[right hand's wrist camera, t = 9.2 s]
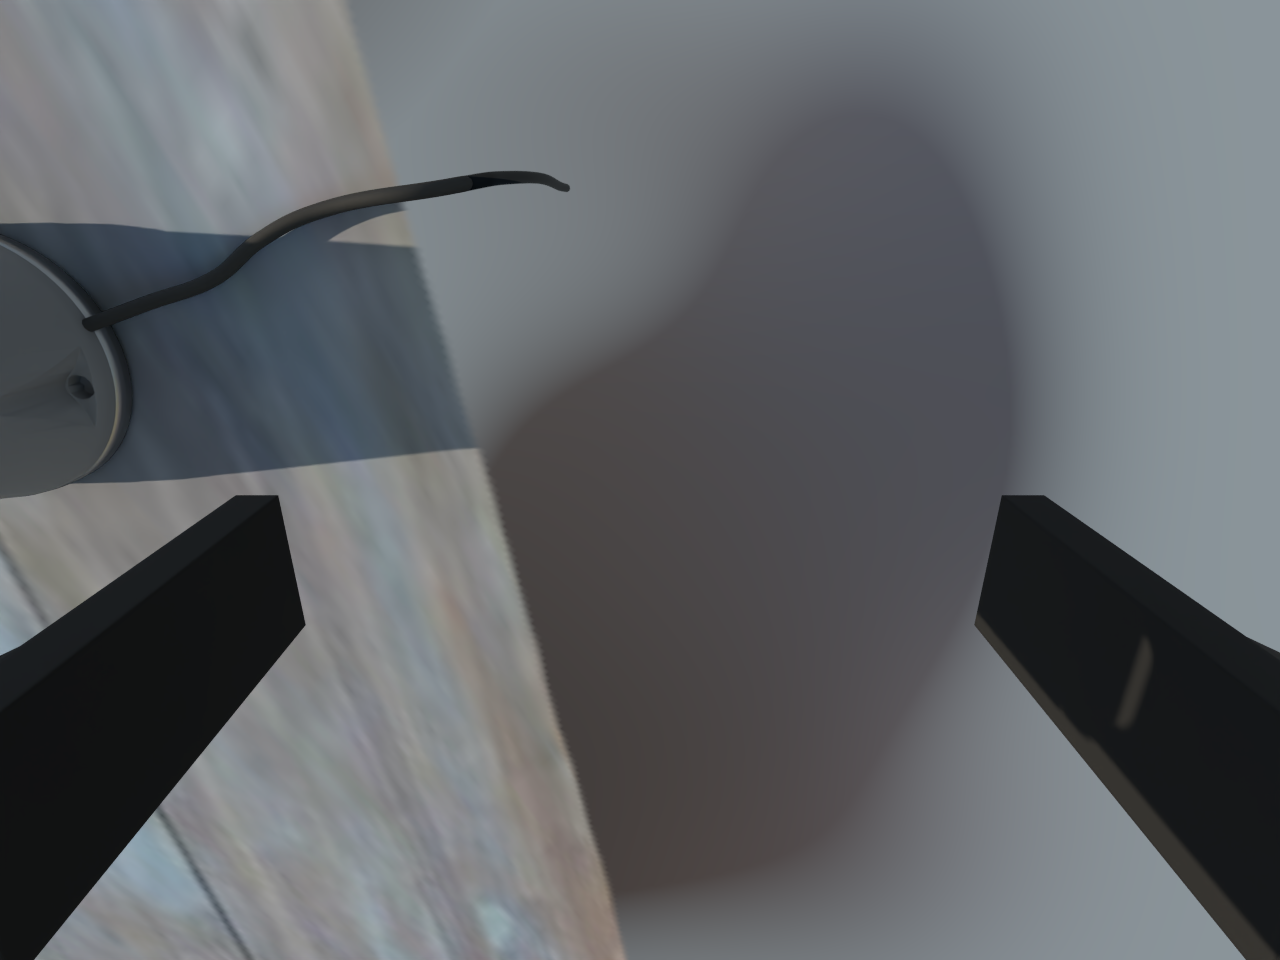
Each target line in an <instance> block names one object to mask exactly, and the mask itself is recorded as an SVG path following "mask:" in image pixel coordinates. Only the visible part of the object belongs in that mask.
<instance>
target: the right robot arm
mask: <svg viewBox="0 0 1280 960" xmlns="http://www.w3.org/2000/svg"><path fill="white" fill-rule="evenodd" d="M525 183H533V184H543V185H547V186H549V187H552V188H554V189H556V190H558V191H563V192H568V191H569V190H570V186H569V185H568V184H565V183H562V182H560V181H558V180H557V179H555V178H554V177H552V176H550V175H547V174H544V173H539V172H531V171H492V172H484V173H477V174H472V175H466V176H460V177H454V178H448V179H443V180H436V181H431V182H424V183H417V184H410V185H402V186H395V187H388V188H381V189H375V190H369V191H363V192H358V193H353V194H349V195H344V196H340V197H336V198H333V199H329V200H326V201H322V202H319V203H316V204H313V205H310V206H307V207H304V208H302V209H299V210H297V211H294V212H292V213H290V214H288V215H286V216H284V217H282V218H280V219H278V220H276V221H274V222H273V223H271V224H269V225H268V226H266V227H265V228H263V229H261V230H260V231H258V232H257V233H255V234H254V235H253V236H251V237H250V238H249V239H247V240H246V241H245V242H244V243H243V244H241V245H240V246H239V247H238V248H237V249H236V250H235V251H234V252H233V253H232V254H231V255H230V256H229V257H228V258H227V259H226V260H225V261H224V262H223V263H222V264H221V265H220V266H218V267H217V268H215V269H214V270H212V271H211V272H209V273H207V274H205V275H203V276H201V277H199V278H197V279H195V280H192V281H189V282H187V283H184V284H181V285H178V286H174V287H171V288H168V289H165V290H161V291H158V292H155V293H152V294H149V295H146V296H143V297H141V298H138V299H135V300H133V301H130V302H127V303H125V304H122V305H119V306H117V307H114V308H111V309H109V310H106V311H103V312H101V310H100V309H99V308H98V306H97V305H96V304H95V302H94V301H93V300H92V299H91V298H90V296H89V295H88V294H87V293H86V292H85V291H84V290H83V289H82V288H81V287H80V286H79V285H78V284H77V283H76V282H75V281H74V280H73V279H72V278H71V277H70V276H69V275H68V274H67V273H65V272H64V271H63V270H62V269H61V268H59V267H58V266H57V265H55V264H54V263H53V262H51V261H50V260H49V259H47V258H46V257H44V256H42V255H41V254H39V253H38V252H36V251H35V250H33V249H31V248H29V247H27V246H25V245H24V244H22V243H19V242H17V241H15V240H13V239H11V238H8V237H6V236H3V235H0V499H3V498H12V497H22V496H30V495H35V494H39V493H43V492H46V491H50V490H54V489H57V488H60V487H63V486H65V485H68V484H70V483H72V482H74V481H76V480H78V479H80V478H82V477H84V476H86V475H88V474H90V473H92V472H94V471H95V470H97V469H98V468H100V467H101V466H102V465H103V464H104V463H106V462H107V461H108V460H109V459H110V458H111V456H112V455H113V454H114V453H115V452H116V450H117V449H118V447H119V446H120V444H121V442H122V440H123V438H124V436H125V434H126V431H127V428H128V425H129V421H130V416H131V409H132V387H131V379H130V374H129V370H128V365H127V362H126V359H125V356H124V353H123V350H122V348H121V346H120V343H119V341H118V339H117V337H116V335H115V333H114V331H113V329H112V327H111V326H110V325H112V324H115V323H117V322H120V321H123V320H126V319H128V318H131V317H134V316H136V315H139V314H142V313H144V312H147V311H150V310H152V309H155V308H158V307H161V306H164V305H167V304H170V303H174V302H177V301H180V300H184V299H187V298H190V297H193V296H196V295H198V294H201V293H203V292H205V291H208V290H210V289H212V288H214V287H216V286H217V285H219V284H221V283H222V282H224V281H226V280H227V279H228V278H230V277H231V276H232V275H233V274H234V273H236V272H237V271H238V270H239V269H240V268H241V267H242V266H243V265H244V264H245V263H246V262H247V261H248V260H249V259H250V258H251V257H252V256H253V255H254V254H255V253H256V252H258V251H259V250H260V249H262V248H263V247H265V246H266V245H268V244H269V243H271V242H272V241H274V240H276V239H277V238H279V237H280V236H282V235H284V234H286V233H288V232H289V231H291V230H293V229H295V228H298V227H300V226H302V225H305V224H307V223H310V222H313V221H316V220H319V219H322V218H325V217H328V216H331V215H335V214H338V213H342V212H346V211H351V210H355V209H360V208H365V207H371V206H377V205H384V204H391V203H398V202H405V201H412V200H419V199H426V198H432V197H439V196H444V195H450V194H455V193H461V192H466V191H471V190H476V189H481V188H485V187H491V186H497V185H507V184H525ZM304 626H305V620H304V615H303V611H302V606H301V601H300V596H299V592H298V587H297V582H296V578H295V573H294V568H293V563H292V559H291V554H290V549H289V545H288V540H287V535H286V530H285V526H284V521H283V516H282V512H281V507H280V502H279V497H278V495H236V496H234V497H233V498H231V499H230V500H229V501H227V502H226V503H224V504H223V505H221V506H220V507H219V508H217V509H216V510H214V511H213V512H211V513H210V514H209V515H207V516H206V517H204V518H203V519H201V520H200V521H199V522H197V523H196V524H194V525H193V526H191V527H190V528H189V529H187V530H186V531H184V532H183V533H181V534H180V535H179V536H177V537H176V538H174V539H173V540H171V541H170V542H169V543H167V544H166V545H164V546H163V547H161V548H160V549H159V550H157V551H156V552H154V553H153V554H151V555H150V556H149V557H147V558H146V559H144V560H143V561H141V562H140V563H139V564H137V565H136V566H134V567H133V568H131V569H130V570H128V571H127V572H126V573H124V574H123V575H121V576H120V577H118V578H117V579H116V580H114V581H113V582H111V583H110V584H108V585H107V586H106V587H104V588H103V589H101V590H100V591H98V592H97V593H96V594H94V595H93V596H91V597H90V598H88V599H87V600H86V601H84V602H83V603H81V604H80V605H78V606H77V607H76V608H74V609H73V610H71V611H70V612H68V613H67V614H66V615H64V616H63V617H61V618H60V619H58V620H57V621H56V622H54V623H53V624H51V625H50V626H48V627H47V628H46V629H44V630H43V631H41V632H40V633H38V634H37V635H36V636H34V637H33V638H31V639H30V640H28V641H27V642H26V643H24V644H23V645H21V646H20V647H18V648H15V649H13V650H11V651H9V652H7V653H5V654H3V655H1V656H0V960H34V959H35V958H36V957H37V955H38V954H39V953H40V952H41V950H42V949H43V948H44V947H45V946H46V944H47V943H48V942H49V941H50V939H51V938H52V937H53V936H54V934H55V933H56V932H57V931H58V929H59V928H60V927H61V926H62V925H63V923H64V922H65V921H66V920H67V918H68V917H69V916H70V915H71V913H72V912H73V911H74V910H75V909H76V907H77V906H78V905H79V904H80V902H81V901H82V900H83V899H84V897H85V896H86V895H87V894H88V893H89V891H90V890H91V889H92V888H93V886H94V885H95V884H96V883H97V881H98V880H99V879H100V878H101V876H102V875H103V874H104V873H105V872H106V870H107V869H108V868H109V867H110V865H111V864H112V863H113V862H114V860H115V859H116V858H117V857H118V856H119V854H120V853H121V852H122V851H123V849H124V848H125V847H126V846H127V844H128V843H129V842H130V841H131V840H132V838H133V837H134V836H135V835H136V833H137V832H138V831H139V830H140V828H141V827H142V826H143V825H144V823H145V822H146V821H147V820H148V819H149V817H150V816H151V815H152V814H153V812H154V811H155V810H156V809H157V807H158V806H159V805H160V804H161V803H162V801H163V800H164V799H165V798H166V796H167V795H168V794H169V793H170V791H171V790H172V789H173V788H174V787H175V785H176V784H177V783H178V782H179V780H180V779H181V778H182V777H183V775H184V774H185V773H186V772H187V770H188V769H189V768H190V767H191V766H192V764H193V763H194V762H195V761H196V759H197V758H198V757H199V756H200V754H201V753H202V752H203V751H204V750H205V748H206V747H207V746H208V745H209V743H210V742H211V741H212V740H213V738H214V737H215V736H216V735H217V734H218V732H219V731H220V730H221V729H222V727H223V726H224V725H225V724H226V722H227V721H228V720H229V719H230V717H231V716H232V715H233V714H234V713H235V711H236V710H237V709H238V708H239V706H240V705H241V704H242V703H243V701H244V700H245V699H246V698H247V697H248V695H249V694H250V693H251V692H252V690H253V689H254V688H255V687H256V685H257V684H258V683H259V682H260V681H261V679H262V678H263V677H264V676H265V674H266V673H267V672H268V671H269V669H270V668H271V667H272V666H273V664H274V663H275V662H276V661H277V660H278V658H279V657H280V656H281V655H282V653H283V652H284V651H285V650H286V648H287V647H288V646H289V645H290V644H291V642H292V641H293V640H294V639H295V637H296V636H297V635H298V634H299V632H300V631H301V630H302V629H303V628H304ZM975 626H976V628H977V629H978V630H979V631H980V632H981V634H982V635H983V636H984V637H985V638H986V640H987V641H988V642H989V644H990V645H991V646H992V647H993V648H994V650H995V651H996V652H997V653H998V655H999V656H1000V657H1001V658H1002V660H1003V661H1004V662H1005V663H1006V664H1007V666H1008V667H1009V668H1010V669H1011V671H1012V672H1013V673H1014V674H1015V676H1016V677H1017V678H1018V679H1019V681H1020V682H1021V683H1022V684H1023V685H1024V687H1025V688H1026V689H1027V690H1028V692H1029V693H1030V694H1031V695H1032V697H1033V698H1034V699H1035V700H1036V701H1037V703H1038V704H1039V705H1040V706H1041V708H1042V709H1043V710H1044V711H1045V712H1046V714H1047V715H1048V716H1049V717H1050V719H1051V720H1052V721H1053V722H1054V724H1055V725H1056V726H1057V727H1058V729H1059V730H1060V731H1061V732H1062V734H1063V735H1064V736H1065V737H1066V738H1067V740H1068V741H1069V742H1070V743H1071V745H1072V746H1073V747H1074V748H1075V749H1076V751H1077V752H1078V753H1079V754H1080V756H1081V757H1082V758H1083V759H1084V761H1085V762H1086V763H1087V764H1088V766H1089V767H1090V768H1091V769H1092V770H1093V772H1094V773H1095V774H1096V775H1097V777H1098V778H1099V779H1100V780H1101V782H1102V783H1103V784H1104V785H1105V786H1106V788H1107V789H1108V790H1109V791H1110V793H1111V794H1112V795H1113V796H1114V798H1115V799H1116V800H1117V801H1118V803H1119V804H1120V805H1121V806H1122V807H1123V809H1124V810H1125V811H1126V812H1127V814H1128V815H1129V816H1130V817H1131V819H1132V820H1133V821H1134V822H1135V823H1136V825H1137V826H1138V827H1139V828H1140V830H1141V831H1142V832H1143V833H1144V835H1145V836H1146V837H1147V838H1148V840H1149V841H1150V842H1151V843H1152V844H1153V846H1154V847H1155V848H1156V849H1157V851H1158V852H1159V853H1160V854H1161V856H1162V857H1163V858H1164V859H1165V860H1166V862H1167V863H1168V864H1169V865H1170V867H1171V868H1172V869H1173V870H1174V872H1175V873H1176V874H1177V875H1178V876H1179V878H1180V879H1181V880H1182V881H1183V883H1184V884H1185V885H1186V886H1187V888H1188V889H1189V890H1190V891H1191V893H1192V894H1193V895H1194V896H1195V897H1196V899H1197V900H1198V901H1199V902H1200V904H1201V905H1202V906H1203V907H1204V909H1205V910H1206V911H1207V912H1208V913H1209V915H1210V916H1211V917H1212V918H1213V920H1214V921H1215V922H1216V923H1217V925H1218V926H1219V927H1220V928H1221V929H1222V931H1223V932H1224V933H1225V934H1226V936H1227V937H1228V938H1229V939H1230V941H1231V942H1232V943H1233V944H1234V946H1235V947H1236V948H1237V949H1238V950H1239V952H1240V953H1241V954H1242V955H1243V957H1244V958H1245V959H1246V960H1280V653H1279V652H1277V651H1275V650H1273V649H1271V648H1269V647H1267V646H1265V645H1263V644H1260V643H1258V642H1256V641H1254V640H1252V639H1250V638H1248V637H1246V636H1244V635H1243V634H1242V633H1240V632H1239V631H1237V630H1236V629H1234V628H1233V627H1232V626H1230V625H1229V624H1227V623H1226V622H1224V621H1223V620H1222V619H1220V618H1219V617H1217V616H1216V615H1214V614H1213V613H1212V612H1210V611H1209V610H1207V609H1206V608H1204V607H1203V606H1202V605H1200V604H1199V603H1197V602H1196V601H1194V600H1193V599H1191V598H1190V597H1189V596H1187V595H1186V594H1184V593H1183V592H1182V591H1180V590H1179V589H1177V588H1176V587H1174V586H1173V585H1172V584H1170V583H1169V582H1167V581H1166V580H1164V579H1163V578H1161V577H1160V576H1159V575H1157V574H1156V573H1154V572H1153V571H1151V570H1150V569H1149V568H1147V567H1146V566H1144V565H1143V564H1141V563H1140V562H1139V561H1137V560H1136V559H1134V558H1133V557H1131V556H1130V555H1129V554H1127V553H1126V552H1124V551H1123V550H1121V549H1120V548H1119V547H1117V546H1116V545H1114V544H1113V543H1111V542H1110V541H1109V540H1107V539H1106V538H1104V537H1103V536H1101V535H1100V534H1099V533H1097V532H1096V531H1094V530H1093V529H1091V528H1090V527H1089V526H1087V525H1086V524H1084V523H1083V522H1081V521H1080V520H1079V519H1077V518H1076V517H1074V516H1073V515H1071V514H1070V513H1069V512H1067V511H1066V510H1064V509H1063V508H1061V507H1060V506H1059V505H1057V504H1056V503H1054V502H1053V501H1051V500H1050V499H1049V498H1047V497H1046V496H1044V495H1002V497H1001V502H1000V507H999V512H998V516H997V521H996V526H995V530H994V535H993V540H992V545H991V549H990V554H989V559H988V563H987V568H986V573H985V578H984V582H983V587H982V592H981V597H980V601H979V606H978V611H977V615H976V620H975Z"/></svg>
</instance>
